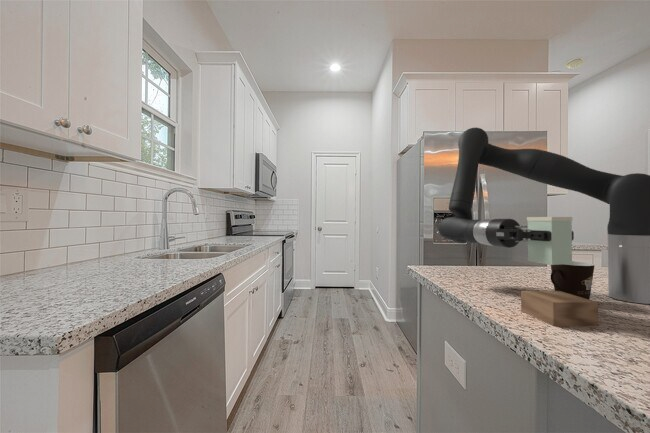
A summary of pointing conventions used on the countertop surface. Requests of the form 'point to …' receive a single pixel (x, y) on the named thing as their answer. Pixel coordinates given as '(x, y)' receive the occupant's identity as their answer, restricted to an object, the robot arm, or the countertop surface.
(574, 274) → the coffee mug
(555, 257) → the tea tin
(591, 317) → the walnut box
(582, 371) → the countertop surface
